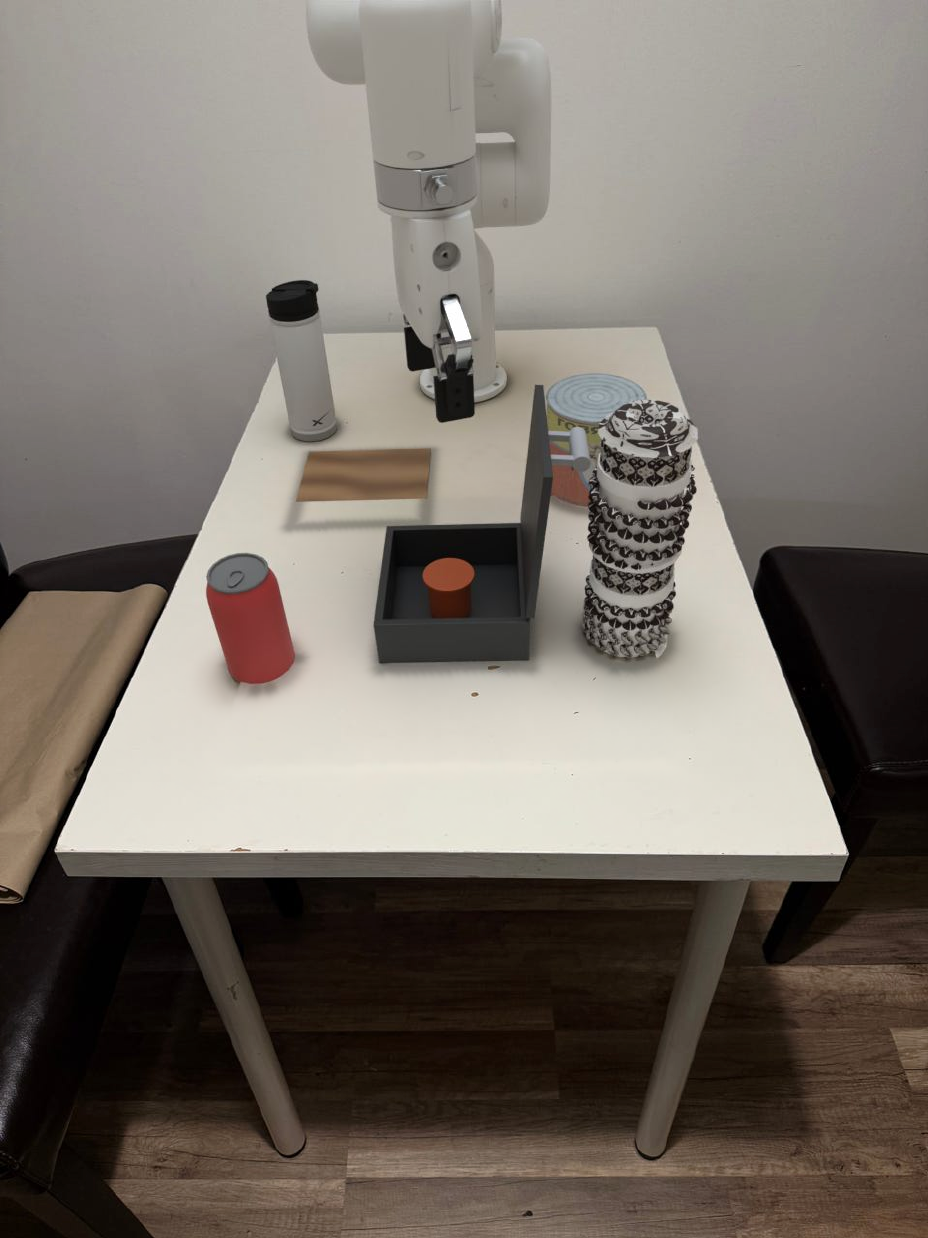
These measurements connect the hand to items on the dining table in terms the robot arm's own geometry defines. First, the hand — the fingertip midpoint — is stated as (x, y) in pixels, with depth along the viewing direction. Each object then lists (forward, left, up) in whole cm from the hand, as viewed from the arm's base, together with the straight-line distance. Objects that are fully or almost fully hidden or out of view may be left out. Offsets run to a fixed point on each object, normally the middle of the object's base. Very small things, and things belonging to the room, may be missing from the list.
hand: (439, 391), depth 78 cm
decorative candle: (+6, +17, -25) cm, 31 cm away
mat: (-22, -12, -24) cm, 35 cm away
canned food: (-21, +16, -25) cm, 36 cm away
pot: (+2, 0, -24) cm, 24 cm away
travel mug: (-36, -20, -25) cm, 48 cm away
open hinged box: (+2, 0, -24) cm, 24 cm away
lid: (+2, +8, -10) cm, 13 cm away
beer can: (+9, -19, -25) cm, 32 cm away
